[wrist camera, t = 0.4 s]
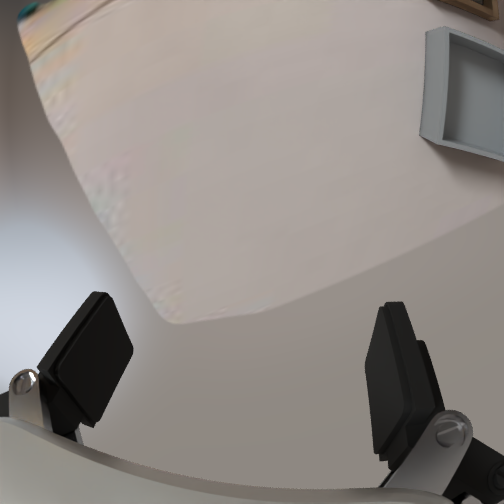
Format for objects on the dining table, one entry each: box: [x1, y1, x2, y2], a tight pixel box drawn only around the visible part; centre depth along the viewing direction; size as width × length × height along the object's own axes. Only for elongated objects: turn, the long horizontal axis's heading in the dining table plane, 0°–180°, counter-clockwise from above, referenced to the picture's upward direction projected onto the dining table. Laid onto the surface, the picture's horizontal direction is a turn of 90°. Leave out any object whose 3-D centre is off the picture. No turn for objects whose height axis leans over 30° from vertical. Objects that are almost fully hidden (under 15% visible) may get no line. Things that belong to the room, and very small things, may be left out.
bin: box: [419, 26, 504, 162], centre depth 26 cm, size 14×14×6 cm
